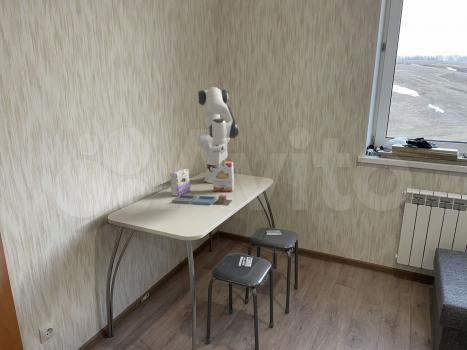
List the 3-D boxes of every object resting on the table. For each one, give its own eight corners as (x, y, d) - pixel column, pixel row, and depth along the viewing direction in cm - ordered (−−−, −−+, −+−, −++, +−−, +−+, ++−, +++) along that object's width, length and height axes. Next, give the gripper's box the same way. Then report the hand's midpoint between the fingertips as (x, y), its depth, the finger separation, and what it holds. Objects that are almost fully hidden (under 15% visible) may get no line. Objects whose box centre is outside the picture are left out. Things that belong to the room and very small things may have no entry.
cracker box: (213, 191, 246) (211, 162, 241) (215, 189, 252) (214, 160, 247) (232, 192, 243) (231, 163, 238) (234, 189, 249) (233, 161, 243)
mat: (217, 200, 227) (217, 199, 227) (232, 201, 225) (232, 199, 225) (212, 205, 218) (212, 204, 218) (228, 206, 215) (227, 205, 215)
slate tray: (199, 198, 232) (199, 195, 231) (216, 199, 229) (216, 196, 228) (192, 204, 221) (192, 201, 220) (210, 205, 217) (210, 202, 217)
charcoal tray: (180, 197, 236) (179, 194, 235) (196, 198, 232) (196, 195, 232) (172, 203, 224) (172, 200, 224) (189, 204, 221) (189, 201, 221)
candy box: (184, 190, 252) (182, 168, 248) (190, 191, 249) (189, 169, 245) (171, 195, 241) (169, 172, 236) (178, 196, 238) (176, 173, 233)
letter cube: (220, 200, 224) (220, 194, 223) (226, 201, 223) (226, 195, 222) (218, 202, 220) (218, 196, 219) (224, 203, 219) (224, 197, 218)
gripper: (220, 142, 223) (221, 163, 226) (209, 148, 204) (210, 171, 207) (229, 142, 221) (230, 164, 224) (219, 149, 202) (220, 172, 205)
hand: (220, 167), depth 216 cm, fingers open, 8 cm apart
